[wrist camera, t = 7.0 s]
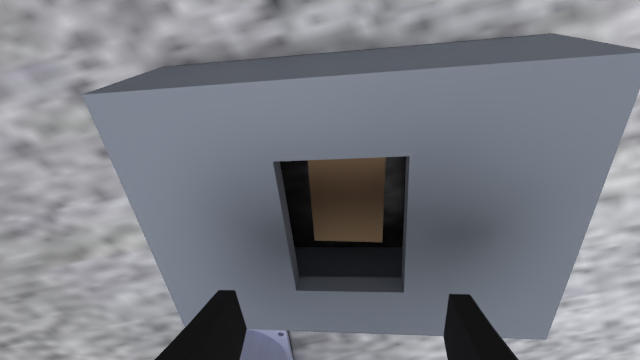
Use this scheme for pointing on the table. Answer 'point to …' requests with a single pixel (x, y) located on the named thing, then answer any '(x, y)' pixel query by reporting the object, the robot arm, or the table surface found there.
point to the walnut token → (347, 199)
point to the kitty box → (372, 142)
